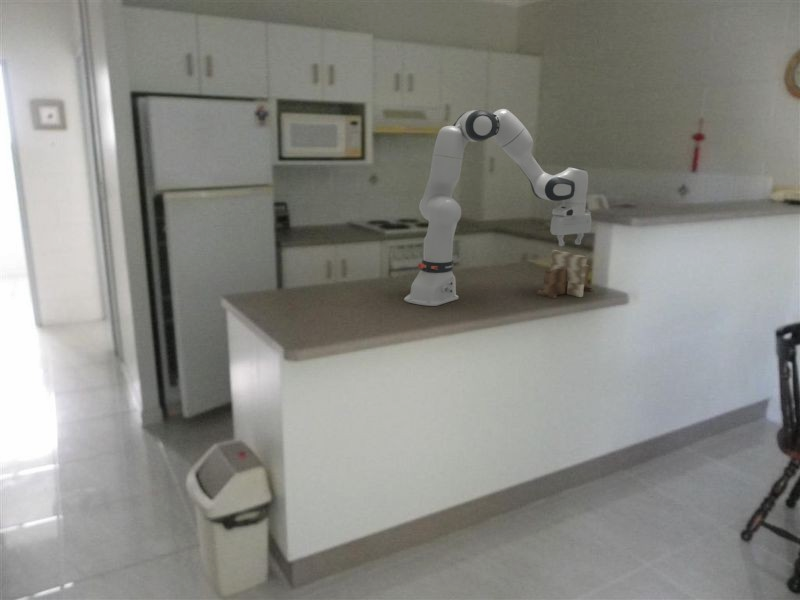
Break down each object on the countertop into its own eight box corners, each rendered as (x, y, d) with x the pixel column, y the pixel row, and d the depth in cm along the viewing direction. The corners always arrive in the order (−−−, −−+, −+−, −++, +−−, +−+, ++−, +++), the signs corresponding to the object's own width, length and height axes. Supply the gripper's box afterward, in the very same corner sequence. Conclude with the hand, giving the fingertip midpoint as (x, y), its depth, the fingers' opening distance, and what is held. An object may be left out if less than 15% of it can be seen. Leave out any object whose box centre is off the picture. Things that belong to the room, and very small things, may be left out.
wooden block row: (552, 298, 231) (554, 273, 229) (537, 294, 238) (539, 269, 235) (592, 290, 244) (595, 266, 242) (577, 286, 251) (579, 263, 248)
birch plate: (548, 288, 247) (551, 250, 242) (551, 287, 248) (555, 249, 244) (579, 297, 234) (583, 257, 230) (582, 296, 235) (587, 256, 231)
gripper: (584, 207, 240) (580, 241, 244) (549, 210, 229) (545, 245, 233) (597, 209, 235) (593, 244, 239) (562, 212, 224) (558, 248, 228)
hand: (569, 245), depth 236 cm, fingers open, 8 cm apart
